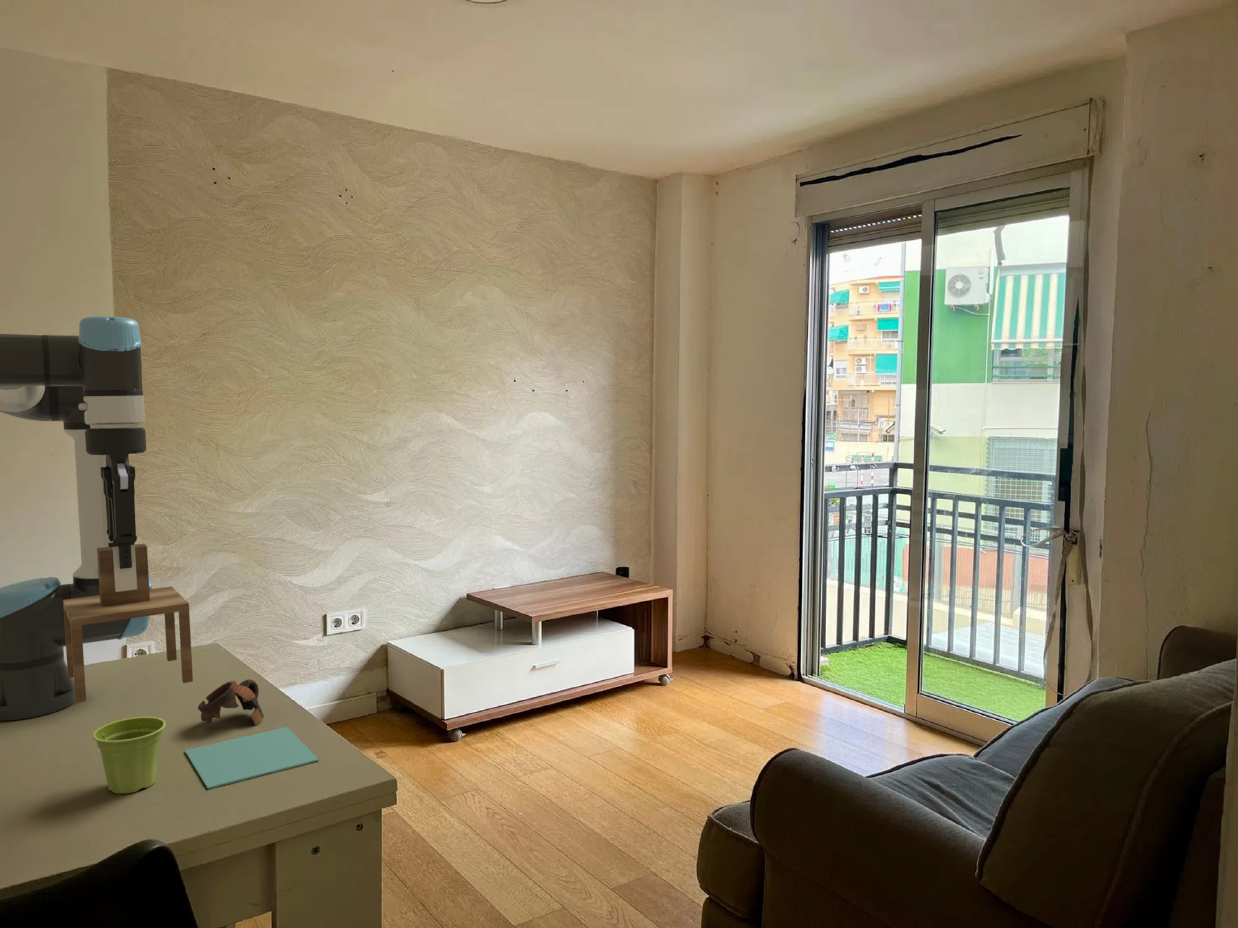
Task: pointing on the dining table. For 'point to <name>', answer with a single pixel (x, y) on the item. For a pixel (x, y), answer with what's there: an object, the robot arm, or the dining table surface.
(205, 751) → the teal mat
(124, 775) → the plant pot
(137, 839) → the dining table surface
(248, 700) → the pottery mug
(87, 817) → the dining table surface
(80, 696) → the brown piece
